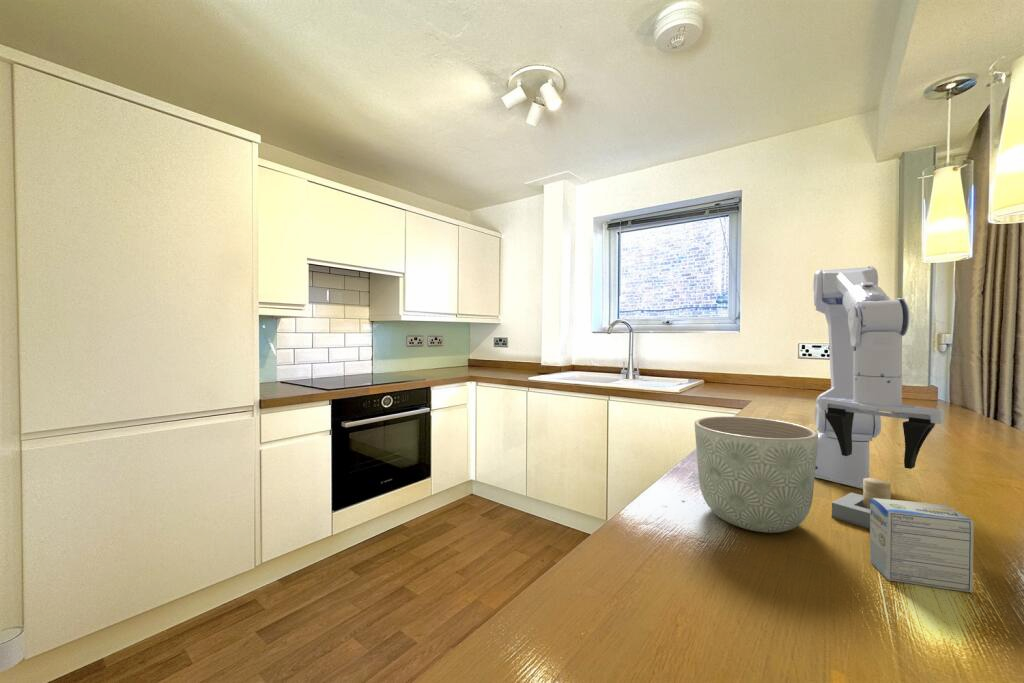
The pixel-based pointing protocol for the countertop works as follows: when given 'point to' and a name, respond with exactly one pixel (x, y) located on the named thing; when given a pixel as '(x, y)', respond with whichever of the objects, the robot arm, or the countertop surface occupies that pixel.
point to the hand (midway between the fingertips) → (876, 460)
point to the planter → (756, 471)
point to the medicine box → (922, 544)
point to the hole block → (851, 510)
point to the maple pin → (875, 490)
